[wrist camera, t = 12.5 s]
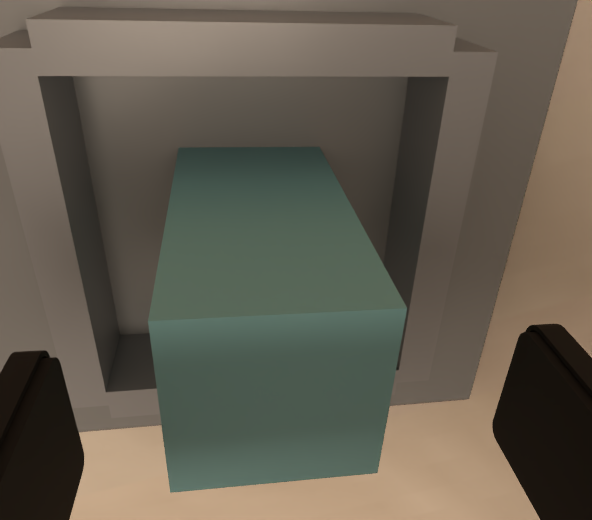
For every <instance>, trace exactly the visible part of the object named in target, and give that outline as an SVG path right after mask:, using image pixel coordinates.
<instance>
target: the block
mask: <svg viewBox="0 0 592 520" xmlns="http://www.w3.org/2000/svg"><path fill="white" fill-rule="evenodd" d="M406 312H407V307H406V305H405V303H404V301H403V300H402V298H401V296H400V294H399V292H398V290H397V289H396V287H395V285H394V283H393V281H392V279H391V278H390V276H389V274H388V272H387V270H386V268H385V266H384V265H383V263H382V261H381V259H380V257H379V255H378V254H377V252H376V250H375V248H374V246H373V244H372V243H371V241H370V239H369V237H368V235H367V233H366V232H365V230H364V228H363V226H362V224H361V222H360V220H359V219H358V217H357V215H356V213H355V211H354V209H353V208H352V206H351V204H350V202H349V200H348V198H347V197H346V195H345V193H344V191H343V189H342V187H341V186H340V184H339V182H338V180H337V178H336V176H335V175H334V173H333V171H332V169H331V167H330V165H329V163H328V162H327V160H326V158H325V156H324V154H323V152H322V151H321V149H320V147H188V148H178V154H177V160H176V165H175V171H174V177H173V182H172V188H171V194H170V199H169V205H168V211H167V216H166V222H165V228H164V233H163V239H162V245H161V250H160V256H159V262H158V267H157V273H156V278H155V284H154V290H153V295H152V301H151V307H150V312H149V318H148V325H149V333H150V341H151V348H152V356H153V364H154V371H155V379H156V386H157V394H158V402H159V409H160V417H161V424H162V432H163V440H164V447H165V455H166V463H167V470H168V478H169V485H170V493H171V492H182V491H192V490H203V489H213V488H224V487H234V486H245V485H256V484H266V483H277V482H287V481H298V480H309V479H319V478H330V477H340V476H351V475H361V474H372V473H377V472H378V467H379V461H380V456H381V450H382V445H383V439H384V434H385V428H386V422H387V417H388V411H389V406H390V400H391V395H392V389H393V384H394V378H395V373H396V367H397V362H398V356H399V351H400V345H401V340H402V334H403V329H404V323H405V318H406Z"/></svg>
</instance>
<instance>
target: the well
mask: <svg viewBox="0 0 592 520" xmlns="http://www.w3.org/2000/svg"><path fill="white" fill-rule="evenodd" d="M577 1H578V0H0V373H1V371H2V369H3V367H4V365H5V363H6V362H7V360H8V358H9V356H10V355H11V354H12V353H13V352H21V351H40V350H45V351H47V352H48V353H49V355H50V358H53V357H56V358H58V359H59V361H60V364H61V367H62V371H63V375H64V379H65V383H66V387H67V390H68V394H69V398H70V402H71V406H72V409H73V413H74V417H75V421H76V425H77V429H78V432H86V431H98V430H110V429H121V428H133V427H145V426H157V425H162V424H161V417H160V409H159V402H158V394H157V386H156V379H155V371H154V364H153V356H152V348H151V341H150V333H149V325H148V318H149V312H150V307H151V301H152V295H153V290H154V284H155V278H156V273H157V267H158V262H159V256H160V250H161V245H162V239H163V233H164V228H165V222H166V216H167V211H168V205H169V199H170V194H171V188H172V182H173V177H174V171H175V165H176V160H177V154H178V148H188V147H320V149H321V151H322V152H323V154H324V156H325V158H326V160H327V162H328V163H329V165H330V167H331V169H332V171H333V173H334V175H335V176H336V178H337V180H338V182H339V184H340V186H341V187H342V189H343V191H344V193H345V195H346V197H347V198H348V200H349V202H350V204H351V206H352V208H353V209H354V211H355V213H356V215H357V217H358V219H359V220H360V222H361V224H362V226H363V228H364V230H365V232H366V233H367V235H368V237H369V239H370V241H371V243H372V244H373V246H374V248H375V250H376V252H377V254H378V255H379V257H380V259H381V261H382V263H383V265H384V266H385V268H386V270H387V272H388V274H389V276H390V278H391V279H392V281H393V283H394V285H395V287H396V289H397V290H398V292H399V294H400V296H401V298H402V300H403V301H404V303H405V305H406V307H407V312H406V318H405V323H404V329H403V334H402V340H401V345H400V351H399V356H398V362H397V367H396V373H395V378H394V384H393V389H392V395H391V400H390V406H393V405H405V404H417V403H429V402H441V401H452V400H464V399H469V398H470V394H471V390H472V387H473V383H474V379H475V375H476V372H477V368H478V364H479V361H480V357H481V353H482V350H483V346H484V342H485V339H486V335H487V331H488V328H489V324H490V320H491V317H492V313H493V309H494V306H495V302H496V298H497V295H498V291H499V287H500V284H501V280H502V276H503V273H504V269H505V265H506V262H507V258H508V254H509V251H510V247H511V243H512V240H513V236H514V232H515V229H516V225H517V221H518V218H519V214H520V210H521V207H522V203H523V199H524V196H525V192H526V188H527V184H528V181H529V177H530V173H531V170H532V166H533V162H534V159H535V155H536V151H537V148H538V144H539V140H540V137H541V133H542V129H543V126H544V122H545V118H546V115H547V111H548V107H549V104H550V100H551V96H552V93H553V89H554V85H555V82H556V78H557V74H558V71H559V67H560V63H561V60H562V56H563V52H564V49H565V45H566V41H567V38H568V34H569V30H570V27H571V23H572V19H573V16H574V12H575V8H576V5H577Z"/></svg>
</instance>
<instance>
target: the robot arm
mask: <svg viewBox="0 0 592 520" xmlns="http://www.w3.org/2000/svg"><path fill="white" fill-rule="evenodd" d="M493 433H494V437H495V439H496V441H497V443H498V444H499V446H500V448H501V450H502V452H503V453H504V455H505V457H506V459H507V460H508V462H509V464H510V466H511V468H512V469H513V471H514V473H515V475H516V477H517V478H518V480H519V482H520V484H521V486H522V487H523V489H524V491H525V493H526V495H527V496H528V498H529V500H530V502H531V503H532V505H533V507H534V509H535V511H536V512H537V514H538V516H539V518H540V520H592V358H591V357H590V356H589V355H588V354H587V352H586V351H585V350H584V349H583V348H582V347H581V346H580V345H579V344H578V343H577V341H576V340H575V339H574V338H573V337H572V336H571V335H570V334H569V333H568V332H567V330H566V329H565V328H564V327H562V326H561V325H559V324H543V325H531V326H529V327H528V328H527V330H526V332H524V333H521V334H520V336H519V338H518V341H517V344H516V348H515V351H514V354H513V357H512V361H511V364H510V367H509V370H508V374H507V377H506V380H505V383H504V387H503V390H502V393H501V396H500V400H499V403H498V406H497V409H496V413H495V416H494V419H493ZM83 466H84V452H83V448H82V444H81V440H80V436H79V432H78V429H77V425H76V421H75V417H74V413H73V409H72V406H71V402H70V398H69V394H68V390H67V387H66V383H65V379H64V375H63V371H62V367H61V364H60V361H59V359H58V358H56V357H53V358H50V355H49V353H48V352H47V351H45V350H40V351H21V352H13V353H12V354H11V355H10V356H9V358H8V360H7V362H6V363H5V365H4V367H3V369H2V371H1V373H0V520H69V518H70V515H71V511H72V508H73V504H74V500H75V497H76V493H77V490H78V486H79V483H80V479H81V475H82V472H83Z"/></svg>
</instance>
